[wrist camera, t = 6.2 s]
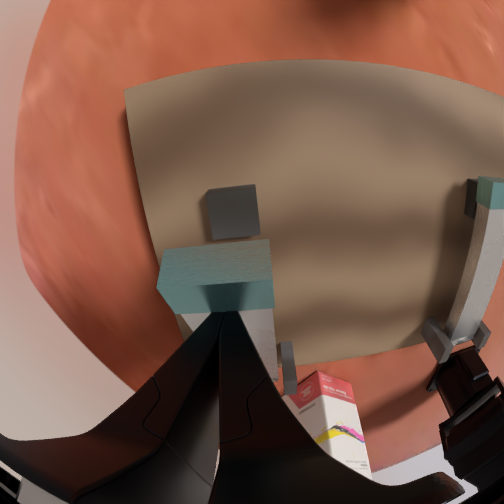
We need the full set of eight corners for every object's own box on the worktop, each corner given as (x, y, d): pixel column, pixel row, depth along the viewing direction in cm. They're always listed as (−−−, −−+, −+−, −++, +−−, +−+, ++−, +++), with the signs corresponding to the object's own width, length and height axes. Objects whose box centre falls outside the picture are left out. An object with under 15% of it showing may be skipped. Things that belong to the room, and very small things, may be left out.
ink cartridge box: (315, 367, 23) (340, 523, 9) (351, 381, 24) (381, 514, 10) (260, 408, 26) (260, 534, 13) (295, 419, 27) (304, 533, 14)
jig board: (467, 313, 20) (494, 349, 15) (199, 352, 22) (188, 405, 17) (499, 100, 11) (548, 107, 6) (138, 92, 13) (88, 84, 8)
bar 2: (464, 332, 17) (472, 342, 16) (437, 340, 17) (444, 352, 16) (506, 178, 11) (519, 184, 10) (478, 175, 11) (493, 182, 10)
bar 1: (279, 364, 18) (280, 382, 17) (233, 367, 18) (233, 385, 17) (269, 238, 8) (273, 279, 7) (164, 249, 8) (156, 288, 7)
